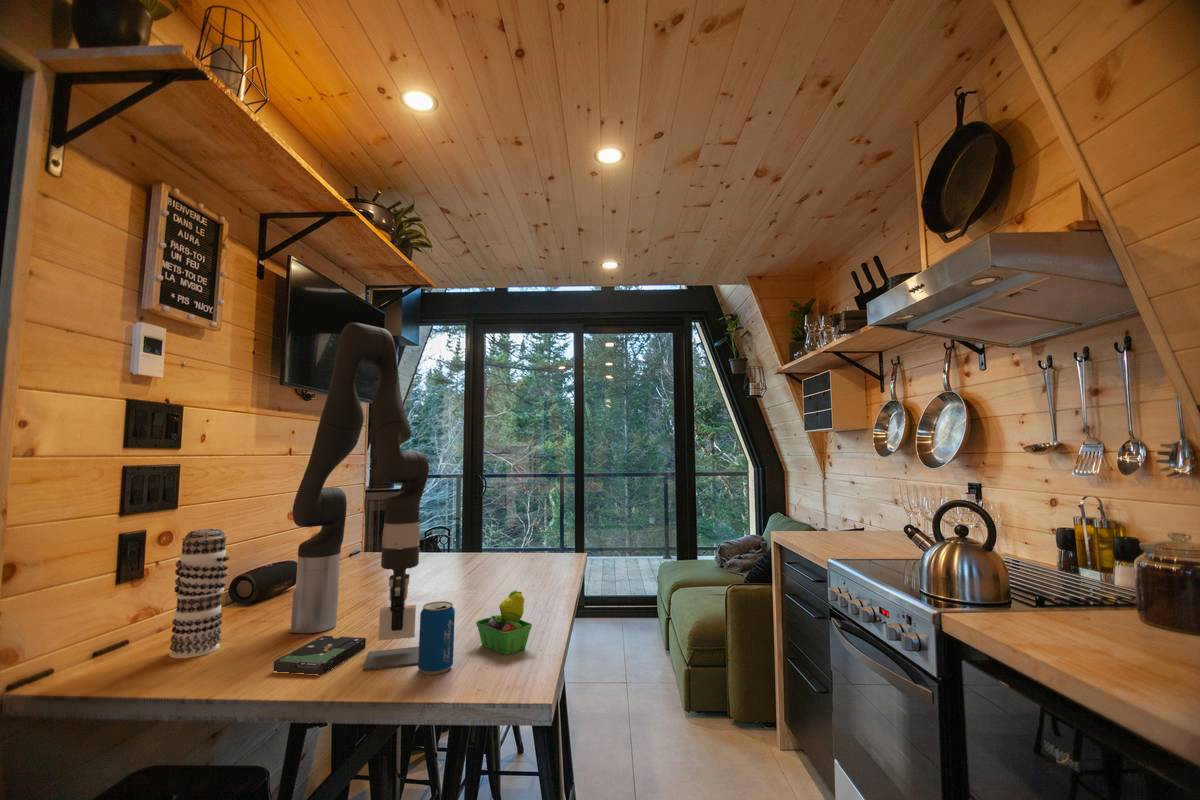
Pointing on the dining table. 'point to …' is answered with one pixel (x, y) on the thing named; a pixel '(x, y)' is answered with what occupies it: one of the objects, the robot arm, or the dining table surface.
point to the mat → (392, 658)
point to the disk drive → (319, 655)
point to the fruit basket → (506, 626)
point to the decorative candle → (199, 594)
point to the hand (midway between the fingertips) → (397, 627)
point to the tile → (386, 622)
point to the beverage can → (436, 637)
